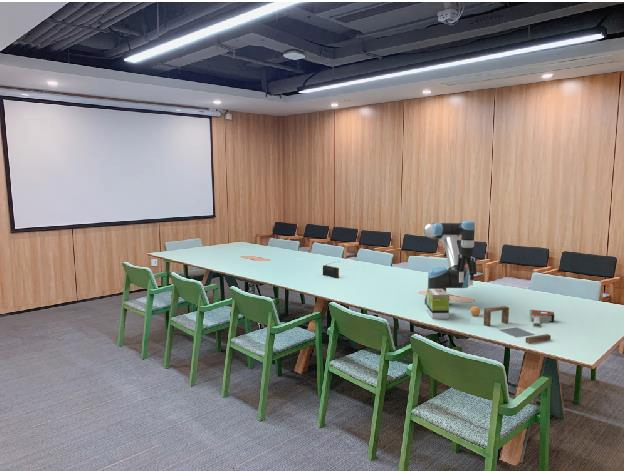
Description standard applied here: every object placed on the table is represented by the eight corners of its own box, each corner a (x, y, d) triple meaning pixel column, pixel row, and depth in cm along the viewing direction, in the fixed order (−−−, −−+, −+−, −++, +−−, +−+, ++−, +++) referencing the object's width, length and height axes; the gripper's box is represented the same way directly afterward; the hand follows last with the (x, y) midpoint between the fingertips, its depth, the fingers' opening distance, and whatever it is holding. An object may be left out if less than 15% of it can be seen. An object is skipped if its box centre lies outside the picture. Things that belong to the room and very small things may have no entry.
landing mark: (499, 330, 238) (499, 329, 238) (516, 327, 242) (516, 327, 242) (516, 337, 227) (516, 337, 227) (534, 334, 231) (534, 334, 231)
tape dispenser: (535, 331, 242) (565, 325, 247) (535, 322, 241) (565, 316, 246) (512, 320, 259) (541, 315, 264) (513, 311, 258) (541, 306, 263)
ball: (468, 314, 266) (468, 305, 265) (475, 313, 268) (476, 304, 267) (474, 317, 261) (474, 308, 260) (482, 316, 263) (482, 307, 262)
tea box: (425, 311, 273) (426, 288, 271) (442, 311, 272) (443, 288, 270) (431, 319, 258) (432, 294, 256) (449, 319, 257) (450, 294, 256)
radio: (322, 275, 380) (322, 258, 378) (324, 275, 382) (325, 257, 380) (338, 278, 366) (338, 260, 364) (340, 278, 368) (340, 260, 366)
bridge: (483, 324, 248) (484, 308, 246) (504, 321, 252) (505, 305, 251) (487, 326, 245) (488, 309, 244) (508, 323, 250) (509, 307, 248)
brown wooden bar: (525, 342, 220) (525, 337, 220) (547, 338, 225) (547, 334, 224) (528, 343, 218) (528, 338, 218) (550, 340, 223) (550, 335, 223)
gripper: (451, 244, 277) (450, 280, 280) (473, 249, 258) (472, 288, 260) (461, 244, 280) (459, 279, 282) (484, 248, 260) (482, 286, 263)
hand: (465, 283), depth 271 cm, fingers open, 8 cm apart
